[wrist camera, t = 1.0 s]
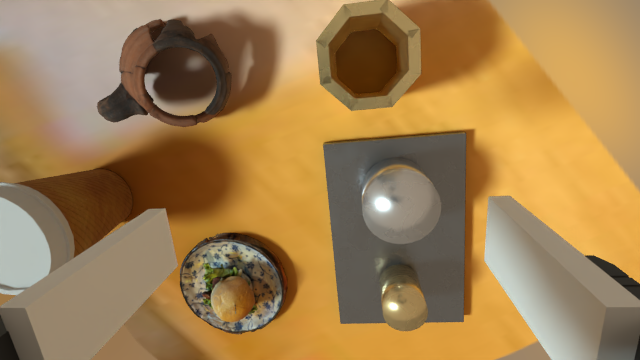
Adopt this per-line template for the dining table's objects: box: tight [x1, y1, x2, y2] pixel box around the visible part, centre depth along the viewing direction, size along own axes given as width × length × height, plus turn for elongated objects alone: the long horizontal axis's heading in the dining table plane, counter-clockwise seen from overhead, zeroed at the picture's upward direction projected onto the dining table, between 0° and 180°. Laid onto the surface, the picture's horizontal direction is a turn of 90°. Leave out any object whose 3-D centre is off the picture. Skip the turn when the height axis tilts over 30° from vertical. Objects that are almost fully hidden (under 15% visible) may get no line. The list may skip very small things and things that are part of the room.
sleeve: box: [316, 0, 421, 111], centre depth 28 cm, size 7×7×8 cm
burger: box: [180, 233, 287, 334], centre depth 36 cm, size 12×12×8 cm
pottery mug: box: [97, 19, 231, 127], centre depth 32 cm, size 12×10×8 cm
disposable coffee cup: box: [0, 169, 133, 295], centre depth 33 cm, size 10×10×12 cm
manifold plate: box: [323, 132, 466, 331], centre depth 33 cm, size 20×13×6 cm, turn 6°
